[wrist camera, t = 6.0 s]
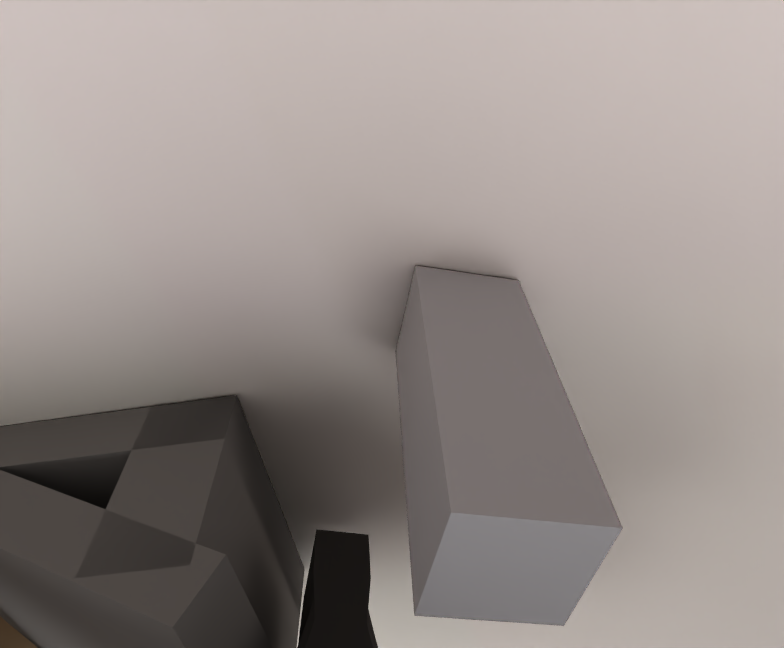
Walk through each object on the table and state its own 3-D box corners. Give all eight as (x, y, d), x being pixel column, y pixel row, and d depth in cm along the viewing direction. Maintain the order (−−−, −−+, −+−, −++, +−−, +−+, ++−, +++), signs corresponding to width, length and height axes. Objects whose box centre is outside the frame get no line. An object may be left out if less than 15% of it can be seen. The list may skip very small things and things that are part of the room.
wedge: (37, 599, 14) (-71, 824, 10) (-98, 439, 11) (-308, 678, 7) (324, 567, 13) (308, 790, 10) (262, 391, 10) (210, 623, 7)
